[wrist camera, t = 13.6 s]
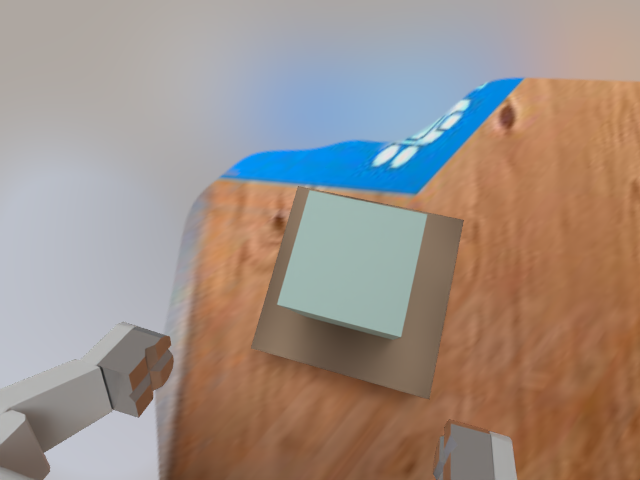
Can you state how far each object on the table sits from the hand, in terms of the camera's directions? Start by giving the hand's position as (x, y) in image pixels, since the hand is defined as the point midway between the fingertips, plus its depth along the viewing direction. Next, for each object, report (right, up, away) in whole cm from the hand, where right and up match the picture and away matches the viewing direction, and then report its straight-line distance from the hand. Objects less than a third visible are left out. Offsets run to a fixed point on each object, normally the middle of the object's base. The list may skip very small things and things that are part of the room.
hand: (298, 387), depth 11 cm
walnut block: (+3, 0, +16) cm, 17 cm away
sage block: (+3, +2, +12) cm, 12 cm away
